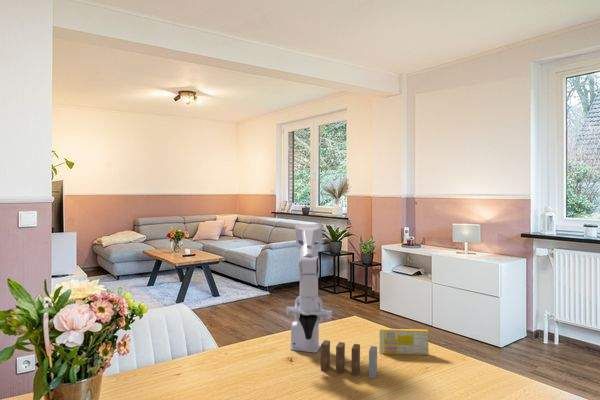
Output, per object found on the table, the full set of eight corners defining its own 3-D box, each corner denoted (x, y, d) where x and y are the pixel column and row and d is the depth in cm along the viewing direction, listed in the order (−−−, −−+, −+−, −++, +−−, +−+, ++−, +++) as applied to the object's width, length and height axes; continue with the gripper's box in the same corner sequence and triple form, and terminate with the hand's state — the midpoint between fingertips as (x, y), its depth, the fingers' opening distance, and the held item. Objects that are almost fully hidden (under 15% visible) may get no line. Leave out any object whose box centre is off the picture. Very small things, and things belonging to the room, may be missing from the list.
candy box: (427, 353, 141) (427, 329, 140) (428, 355, 138) (428, 331, 138) (379, 351, 142) (379, 327, 142) (379, 353, 140) (379, 329, 140)
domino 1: (320, 370, 127) (320, 344, 127) (324, 365, 131) (324, 340, 130) (326, 371, 126) (326, 345, 126) (329, 365, 130) (329, 340, 130)
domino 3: (351, 374, 124) (351, 348, 124) (354, 369, 128) (354, 343, 127) (357, 375, 123) (357, 349, 123) (359, 370, 127) (360, 344, 127)
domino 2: (335, 372, 125) (336, 346, 125) (339, 367, 129) (339, 341, 129) (341, 373, 125) (341, 347, 124) (344, 368, 128) (344, 342, 128)
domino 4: (368, 377, 122) (369, 350, 122) (371, 371, 126) (371, 345, 126) (375, 378, 121) (375, 351, 121) (376, 372, 125) (377, 346, 125)
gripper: (282, 296, 128) (282, 339, 128) (327, 300, 124) (327, 345, 124) (290, 291, 135) (290, 332, 135) (333, 295, 130) (333, 337, 130)
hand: (308, 338), depth 130 cm, fingers closed
